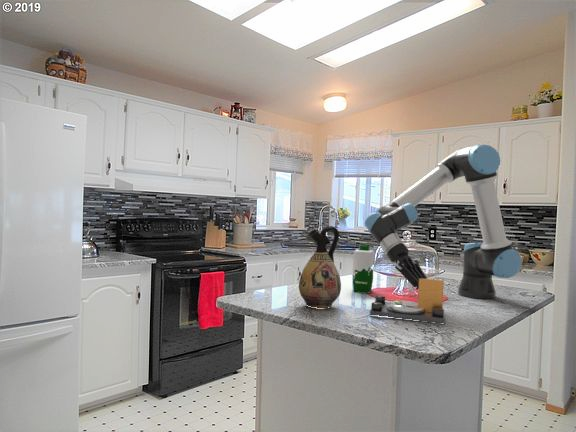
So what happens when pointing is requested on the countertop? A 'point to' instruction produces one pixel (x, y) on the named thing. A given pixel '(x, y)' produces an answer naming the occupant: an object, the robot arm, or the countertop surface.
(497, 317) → the countertop surface
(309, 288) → the ceramic jug
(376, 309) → the tribrach plate
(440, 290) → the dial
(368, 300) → the countertop surface
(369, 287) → the milk carton
